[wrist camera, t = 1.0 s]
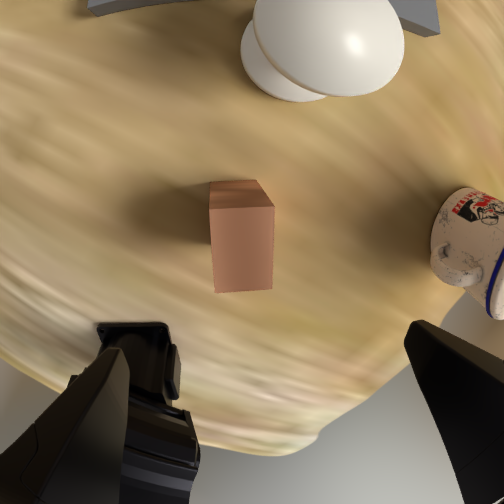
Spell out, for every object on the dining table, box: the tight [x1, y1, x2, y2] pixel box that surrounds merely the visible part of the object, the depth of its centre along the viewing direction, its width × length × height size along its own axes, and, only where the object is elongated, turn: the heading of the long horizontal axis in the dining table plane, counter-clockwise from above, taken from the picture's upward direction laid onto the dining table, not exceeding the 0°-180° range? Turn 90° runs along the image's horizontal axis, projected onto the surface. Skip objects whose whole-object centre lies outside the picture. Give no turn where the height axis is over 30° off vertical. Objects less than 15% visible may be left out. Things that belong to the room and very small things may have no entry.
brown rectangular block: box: [209, 180, 275, 293], centre depth 17 cm, size 3×4×6 cm, turn 0°
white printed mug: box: [430, 188, 504, 320], centre depth 17 cm, size 12×9×12 cm
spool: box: [240, 0, 404, 102], centre depth 12 cm, size 7×7×7 cm
